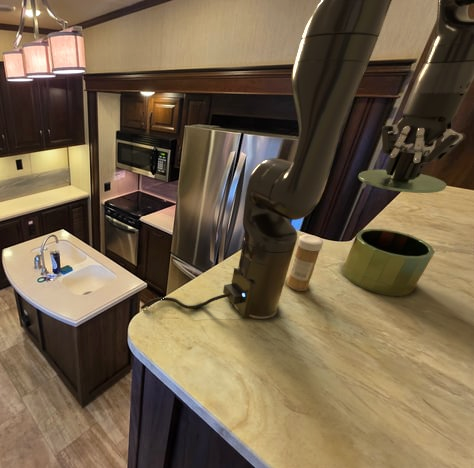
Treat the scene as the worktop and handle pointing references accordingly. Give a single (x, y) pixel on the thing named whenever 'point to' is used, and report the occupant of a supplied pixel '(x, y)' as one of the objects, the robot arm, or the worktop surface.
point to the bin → (387, 261)
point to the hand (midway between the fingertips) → (400, 176)
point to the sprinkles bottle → (304, 262)
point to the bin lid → (402, 178)
